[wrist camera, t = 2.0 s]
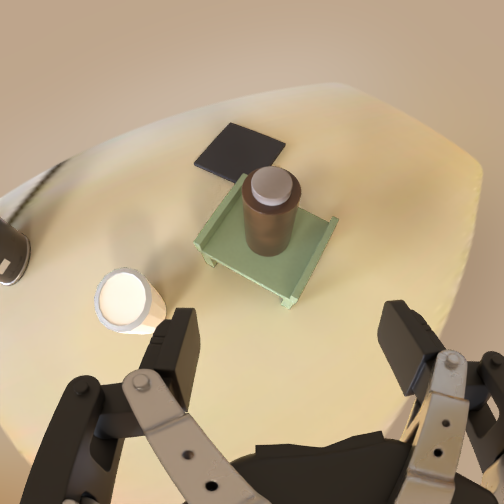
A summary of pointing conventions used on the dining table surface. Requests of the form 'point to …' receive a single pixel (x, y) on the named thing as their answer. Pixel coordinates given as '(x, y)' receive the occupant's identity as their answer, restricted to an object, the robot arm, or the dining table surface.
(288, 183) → the brown bottle
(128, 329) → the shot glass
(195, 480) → the robot arm
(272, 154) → the mat
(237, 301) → the dining table surface
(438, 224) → the dining table surface
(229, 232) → the tray
